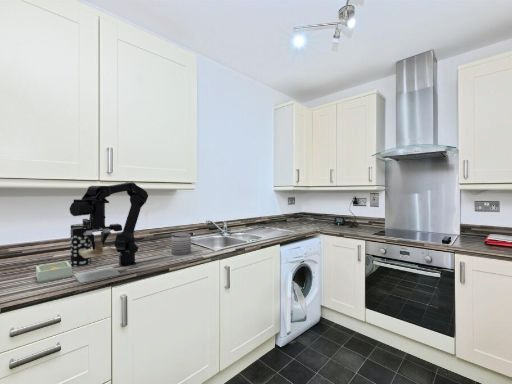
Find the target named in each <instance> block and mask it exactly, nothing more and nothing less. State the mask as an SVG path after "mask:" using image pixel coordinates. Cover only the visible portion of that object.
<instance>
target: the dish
mask: <svg viewBox="0 0 512 384" xmlns="http://www.w3.org/2000/svg"><path fill="white" fill-rule="evenodd" d="M53 267H57V268H56V269H51V268H53ZM50 269H51V270H50ZM72 271H73V266H71V263H70V262H69V261H68V260H66V261H60V262H53V263H47V264H40V265H35V277H36V281H37V283H38V284H42V283H46V282H52V281H56V280H61V278H62V279H65V278H66V277H67V278H71V276H73V275H72V273H73V272H72Z"/></svg>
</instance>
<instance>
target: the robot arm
mask: <svg viewBox="0 0 512 384" xmlns="http://www.w3.org/2000/svg"><path fill="white" fill-rule="evenodd" d="M123 192H126V194H127V195H128V196H129V203H130V208H129V210H128V214H127V217H126V220H125V222H124V223H125V224H124V227H123V226H122V224H119V223H112V224H109V225H108V226H106V204H110V201H109V200H108V199H107V198H108V197H110V196H111V195H113V194H118V193H123ZM148 197H149V193H148V192H147V191H146V190H145V189H144V188H142V187H140V186H139V185H137V184H136V183H135V182H133V181H131V182H128V181H127V182H124V183H117V184H116V183H115V184H112V185H90V186H88V187H87V189H86V192H85V193H84V195H83V196H82V197H81V199H78V198H77V199H76V198H74V199H73V202H72V203H71V204H70V207H69V213H70V214H71V216H73V217H80V216H89V218H83V219H82V224H83V226H88V228H85V229H84V228H83V227H75V228H72V229H71V228H70V236H71V235H72V236H79V235H84V236H86V237H88V239H89V240H90V243H91V247H92V248H91V249H95V242H94V241H95V234H93V233H95V232H100V242H102V243H103V246H104V244H105V242H106V240H107V238H108V237H109V235H111V234H112V232H111V231H114V232H121V233H117V234H116V237H115V240H114V241H113V242H114V247H115V250H116V251H117V253H119V255H118V264H119V265H121V267H126V266H130V265H131V266H132V265H135V264H137V262H136V253H137V252H138V250H139V247H138V245H137V244H136V243H135V241H136V239H135V235H134V232H135V229H136V226H137V222H138V219H139V216H140V212H141V209H142V207H143V206H144V205H146V203H147V200H148Z"/></svg>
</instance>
